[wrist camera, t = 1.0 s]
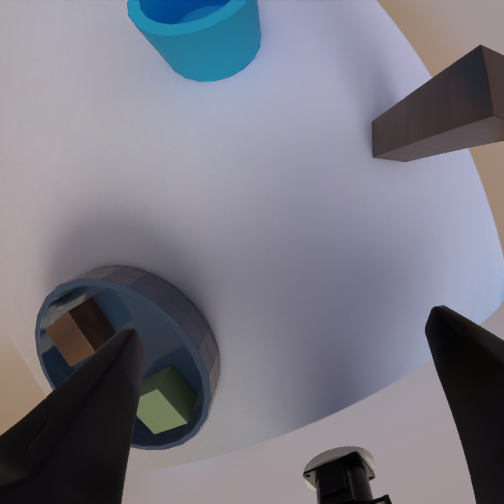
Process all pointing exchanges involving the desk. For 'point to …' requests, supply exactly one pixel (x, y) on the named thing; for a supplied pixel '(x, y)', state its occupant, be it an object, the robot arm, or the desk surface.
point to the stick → (446, 111)
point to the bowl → (151, 335)
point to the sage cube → (165, 400)
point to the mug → (200, 34)
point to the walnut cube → (80, 332)
